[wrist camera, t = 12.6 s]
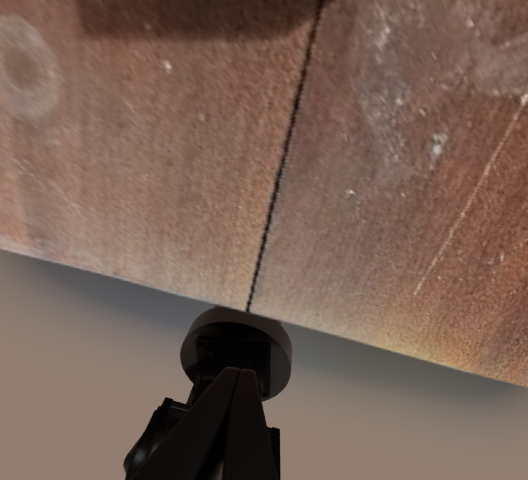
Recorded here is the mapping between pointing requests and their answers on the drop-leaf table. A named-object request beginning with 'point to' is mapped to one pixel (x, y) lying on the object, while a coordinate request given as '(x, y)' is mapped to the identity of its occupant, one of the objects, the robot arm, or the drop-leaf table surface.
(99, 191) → the drop-leaf table surface
